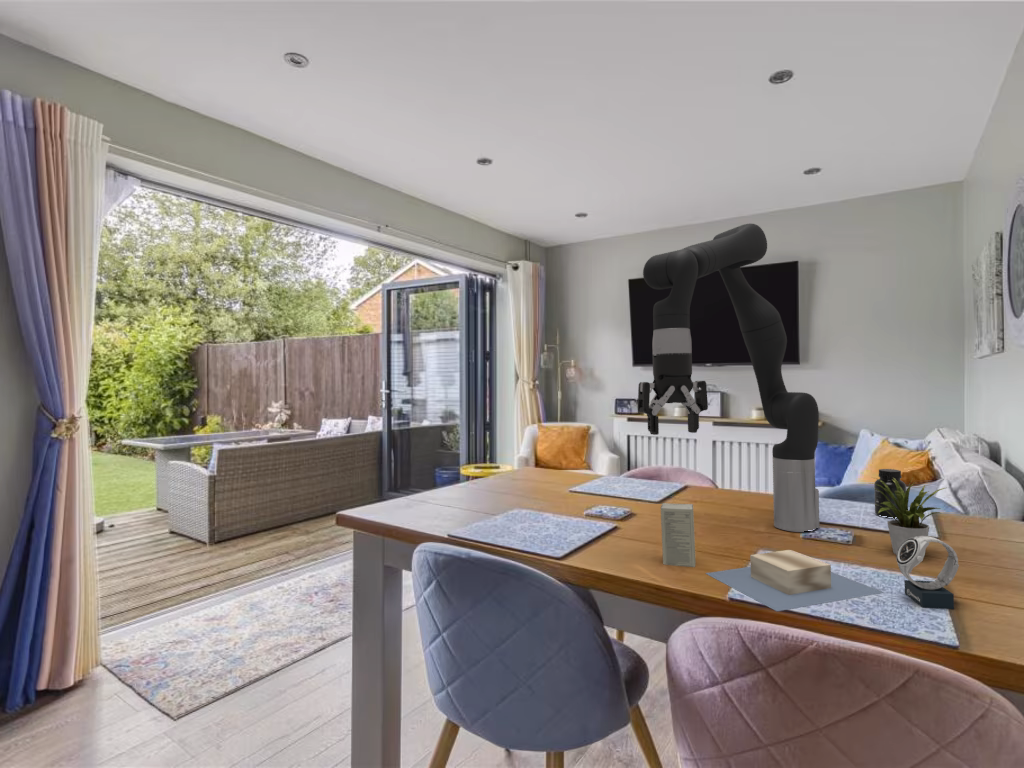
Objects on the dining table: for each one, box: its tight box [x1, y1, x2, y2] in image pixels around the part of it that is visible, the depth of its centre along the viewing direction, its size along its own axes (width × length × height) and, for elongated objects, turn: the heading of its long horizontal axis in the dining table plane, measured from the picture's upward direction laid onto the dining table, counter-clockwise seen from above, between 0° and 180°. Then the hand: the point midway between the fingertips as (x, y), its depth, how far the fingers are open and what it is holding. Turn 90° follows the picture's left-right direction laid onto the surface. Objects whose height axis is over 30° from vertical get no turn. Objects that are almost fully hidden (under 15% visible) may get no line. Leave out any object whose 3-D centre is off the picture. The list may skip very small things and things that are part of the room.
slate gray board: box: [705, 566, 885, 612], centre depth 98 cm, size 22×18×1 cm
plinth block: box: [749, 549, 832, 595], centre depth 98 cm, size 9×9×4 cm
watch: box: [895, 535, 960, 610], centre depth 88 cm, size 6×8×11 cm
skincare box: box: [660, 502, 696, 568], centre depth 109 cm, size 6×4×12 cm
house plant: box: [869, 476, 950, 555], centre depth 114 cm, size 14×14×16 cm
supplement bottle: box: [873, 468, 907, 517], centre depth 144 cm, size 7×7×12 cm
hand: (673, 433), depth 110 cm, fingers open, 8 cm apart
